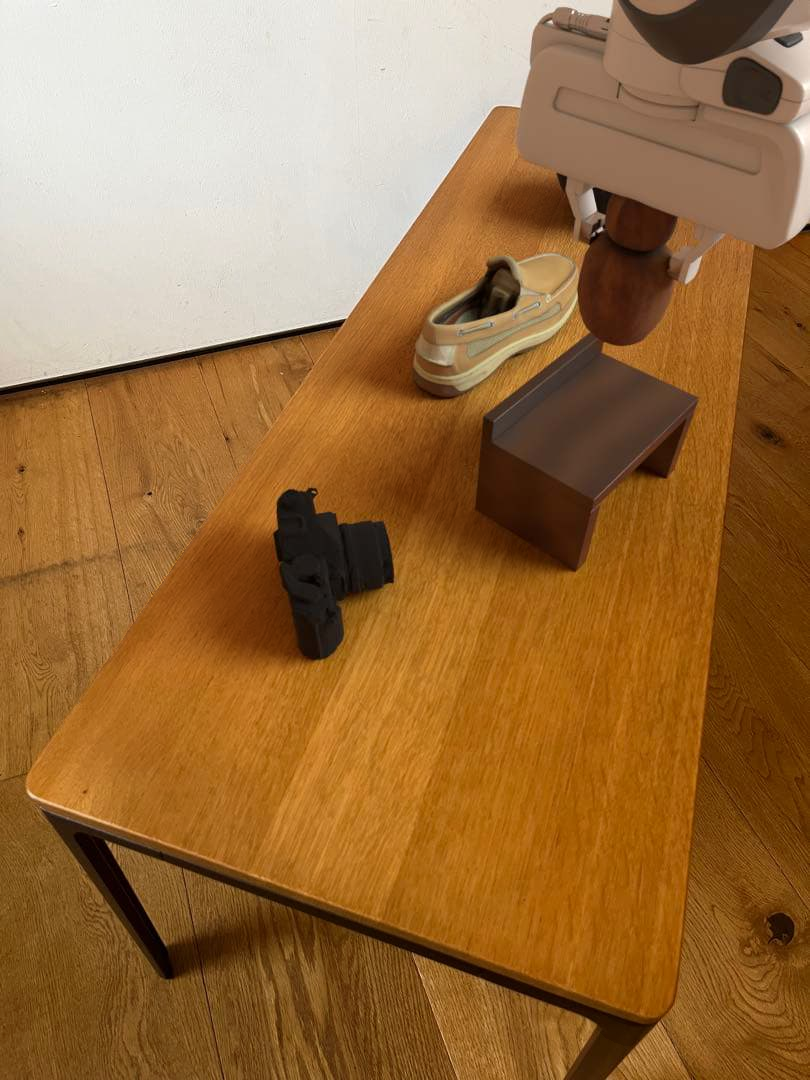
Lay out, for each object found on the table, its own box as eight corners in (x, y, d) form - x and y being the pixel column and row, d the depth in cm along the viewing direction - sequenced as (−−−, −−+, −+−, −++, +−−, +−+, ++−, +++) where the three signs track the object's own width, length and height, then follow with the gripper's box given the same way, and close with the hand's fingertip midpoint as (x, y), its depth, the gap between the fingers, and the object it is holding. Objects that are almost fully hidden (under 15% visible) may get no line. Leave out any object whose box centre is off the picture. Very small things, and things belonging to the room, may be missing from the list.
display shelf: (674, 470, 81) (706, 376, 72) (576, 571, 72) (599, 480, 63) (576, 419, 86) (596, 327, 77) (474, 508, 78) (482, 416, 69)
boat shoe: (596, 300, 102) (613, 217, 94) (475, 419, 87) (482, 333, 78) (527, 275, 106) (537, 194, 98) (399, 384, 91) (398, 299, 82)
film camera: (407, 648, 67) (406, 584, 60) (294, 668, 66) (280, 605, 59) (376, 520, 77) (372, 452, 70) (277, 535, 76) (263, 468, 69)
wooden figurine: (673, 342, 59) (735, 137, 48) (615, 367, 58) (665, 159, 46) (613, 300, 63) (658, 99, 52) (557, 321, 61) (591, 119, 50)
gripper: (507, 12, 48) (489, 226, 59) (834, 99, 39) (744, 333, 50) (565, -12, 51) (539, 196, 62) (881, 64, 42) (787, 292, 53)
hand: (632, 258), depth 56 cm, fingers closed on wooden figurine, 6 cm apart
